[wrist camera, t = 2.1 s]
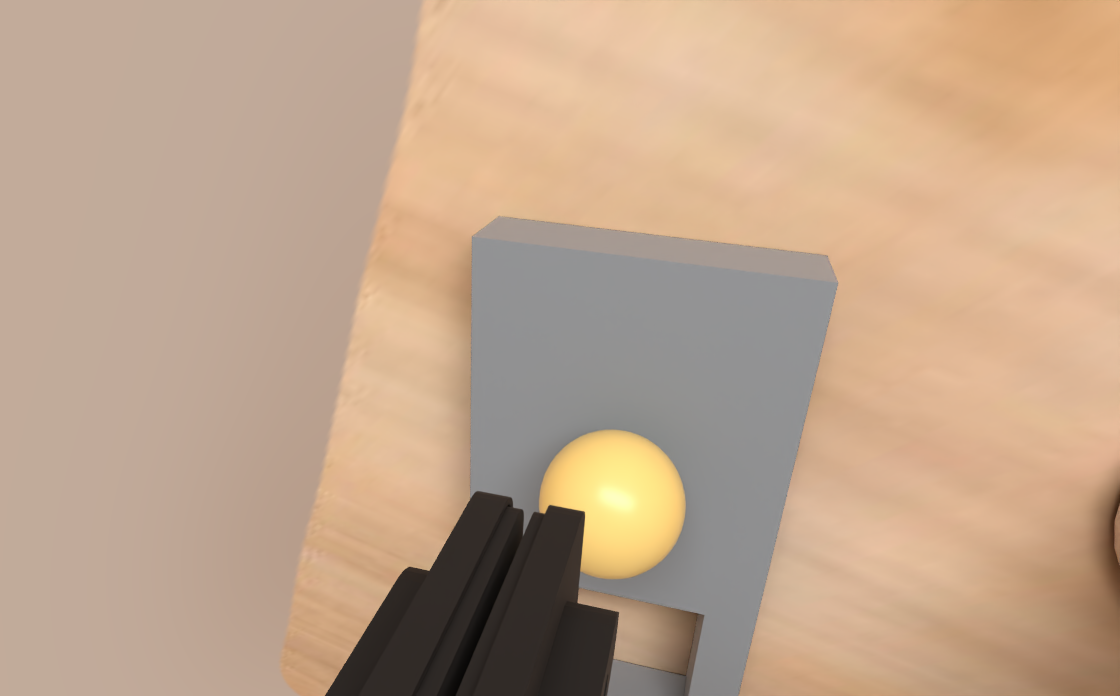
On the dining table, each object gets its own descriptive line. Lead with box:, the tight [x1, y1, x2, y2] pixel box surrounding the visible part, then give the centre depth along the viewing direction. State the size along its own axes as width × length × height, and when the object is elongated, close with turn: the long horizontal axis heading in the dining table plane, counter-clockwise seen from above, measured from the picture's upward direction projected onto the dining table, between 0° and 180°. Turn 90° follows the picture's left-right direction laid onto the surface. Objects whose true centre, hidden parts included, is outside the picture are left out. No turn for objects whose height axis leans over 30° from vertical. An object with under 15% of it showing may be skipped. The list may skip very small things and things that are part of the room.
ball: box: [539, 430, 686, 579], centre depth 24 cm, size 5×5×5 cm
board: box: [470, 216, 838, 696], centre depth 28 cm, size 12×24×6 cm, turn 177°
